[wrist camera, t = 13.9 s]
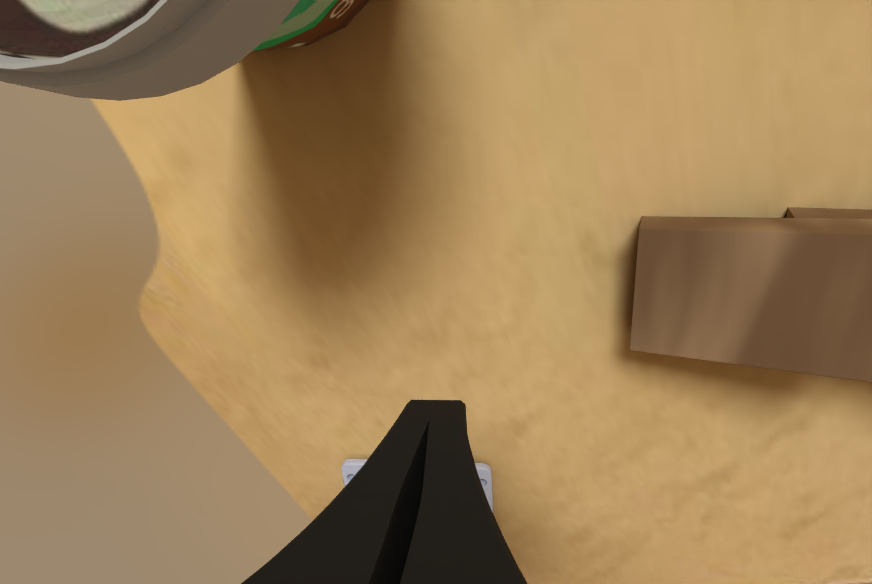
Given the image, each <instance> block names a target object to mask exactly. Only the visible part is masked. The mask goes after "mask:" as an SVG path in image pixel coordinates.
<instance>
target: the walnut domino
mask: <svg viewBox="0 0 872 584" xmlns="http://www.w3.org/2000/svg"><path fill="white" fill-rule="evenodd" d="M630 350H633V351H641V352H648V353H656V354H663V355H671V356H678V357H686V358H693V359H701V360H708V361H716V362H723V363H731V364H738V365H746V366H753V367H761V368H768V369H776V370H783V371H791V372H798V373H806V374H813V375H821V376H828V377H836V378H843V379H851V380H859V381H866V382H872V219H825V218H736V217H647V216H642V218H641V223H640V227H639V237H638V250H637V263H636V276H635V289H634V302H633V315H632V328H631V341H630Z"/></svg>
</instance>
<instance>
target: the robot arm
mask: <svg viewBox="0 0 872 584" xmlns="http://www.w3.org/2000/svg"><path fill="white" fill-rule="evenodd" d="M341 471H342V476H343V480H344V485H345V487H344V488H343V490H342V491H341V492H340V493H339V494H338V495H337V496H336V497H335V499H334V500H333V501H332V502H331V503H330V504H329V505H328V506H327V507H326V508H325V509H324V510H323V511H322V512H321V513H320V514H319V515H318V516H317V517H316V518H315V519H314V520H313V521H312V522H311V523H310V524H309V525H308V526H307V527H306V528H305V529H304V530H303V531H302V532H301V533H300V534H299V535H298V536H296V537H295V538H294V539H293V540H292V541H291V542H290V543H289V544H288V545H287V546H286V547H284V548H283V549H282V550H281V551H280V552H279V553H278V554H277V555H276V556H275V557H273V558H272V559H271V560H270V561H269V562H268V563H266V564H265V565H264V566H263V567H262V568H260V569H259V570H258V571H257V572H255V573H254V574H253V575H251V576H250V577H249V578H248V579H246V580H245V581H244V582H243V583H241V584H527V582H526V580H525V578H524V577H523V575H522V573H521V571H520V569H519V568H518V566H517V564H516V562H515V560H514V558H513V556H512V554H511V552H510V550H509V548H508V546H507V544H506V542H505V539H504V537H503V535H502V533H501V531H500V528H499V526H498V524H497V522H496V520H495V517H494V515H493V495H492V470H491V467H490V466H489V465H487V464H484V463H475V462H474V459H473V456H472V452H471V448H470V444H469V440H468V435H467V423H466V406H465V404H464V403H463V402H462V401H461V400H411V401H410V402H408V403H407V405H406V406H405V408H404V410H403V411H402V413H401V414H400V416H399V417H398V419H397V420H396V422H395V423H394V425H393V426H392V427H391V429H390V430H389V432H388V433H387V435H386V436H385V437H384V439H383V440H382V441H381V443H380V444H379V445H378V447H377V448H376V449H375V451H374V452H373V453H372V455H371V456H370V457H369V459H347V460H345V461H344V462H343V464H342V467H341ZM351 474H353V475H351ZM480 479H485V480H480Z"/></svg>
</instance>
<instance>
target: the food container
mask: <svg viewBox="0 0 872 584" xmlns="http://www.w3.org/2000/svg"><path fill="white" fill-rule="evenodd" d="M368 2H369V0H0V81H3V82H7V83H11V84H16V85H21V86H26V87H31V88H35V89H40V90H45V91H50V92H54V93H59V94H64V95H69V96H74V97H81V98H93V99H106V100H119V101H121V100H130V99H139V98H148V97H158V96H163V95H166V94H170V93H173V92H176V91H179V90H182V89H185V88H189V87H192V86H195V85H198V84H201V83H203V82H205V81H206V80H208V79H210V78H212V77H214V76H215V75H217V74H219V73H221V72H222V71H224V70H226V69H228V68H230V67H231V66H233V65H235V64H237V63H238V62H240V61H241V60H242V59H243V58H244V57H246V56H247V55H248V54H249V53H250V52H251V51H259V50H268V49H278V48H287V47H297V46H307V45H310V44H312V43H314V42H316V41H318V40H320V39H322V38H324V37H326V36H328V35H330V34H332V33H334V32H336V31H338V30H340V29H342V28H344V27H345V26H346V25H347V24H348V23H349V22H350V21H351V20H352V19H353V18H354V17H355V16H356V14H357V13H358V12H359V11H360V10H361V9H362V8H363V7H364V6H365V5H366V4H367V3H368Z"/></svg>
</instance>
